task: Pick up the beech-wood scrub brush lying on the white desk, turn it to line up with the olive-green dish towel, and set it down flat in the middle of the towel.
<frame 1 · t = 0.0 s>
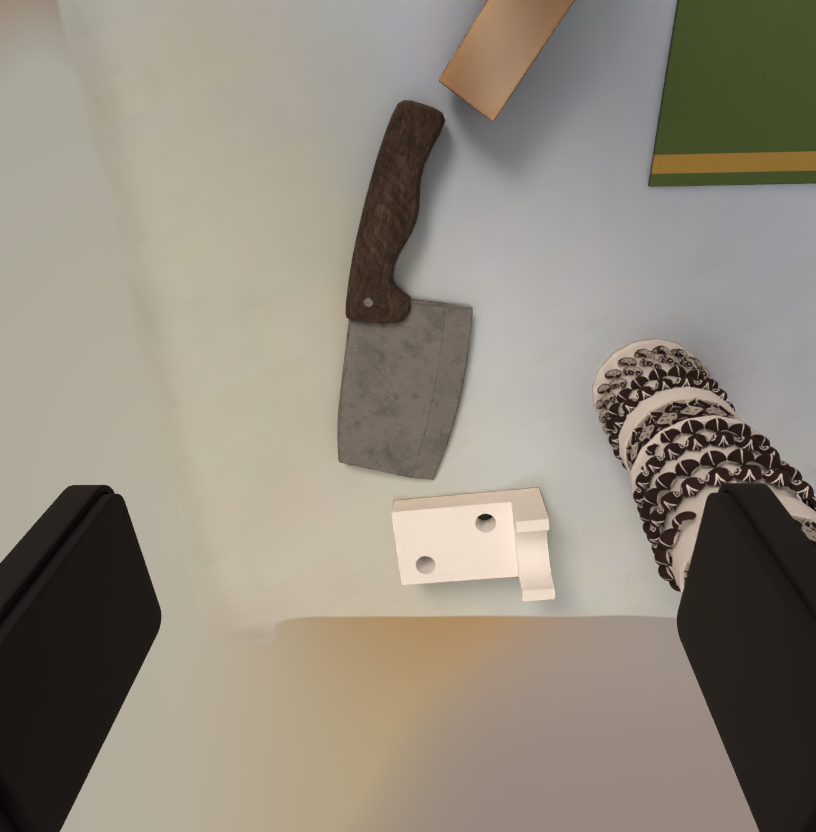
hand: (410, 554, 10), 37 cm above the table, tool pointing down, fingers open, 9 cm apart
decorative candle: (644, 387, 50), on the table
bracket: (468, 516, 57), on the table
cleaver: (406, 315, 48), on the table
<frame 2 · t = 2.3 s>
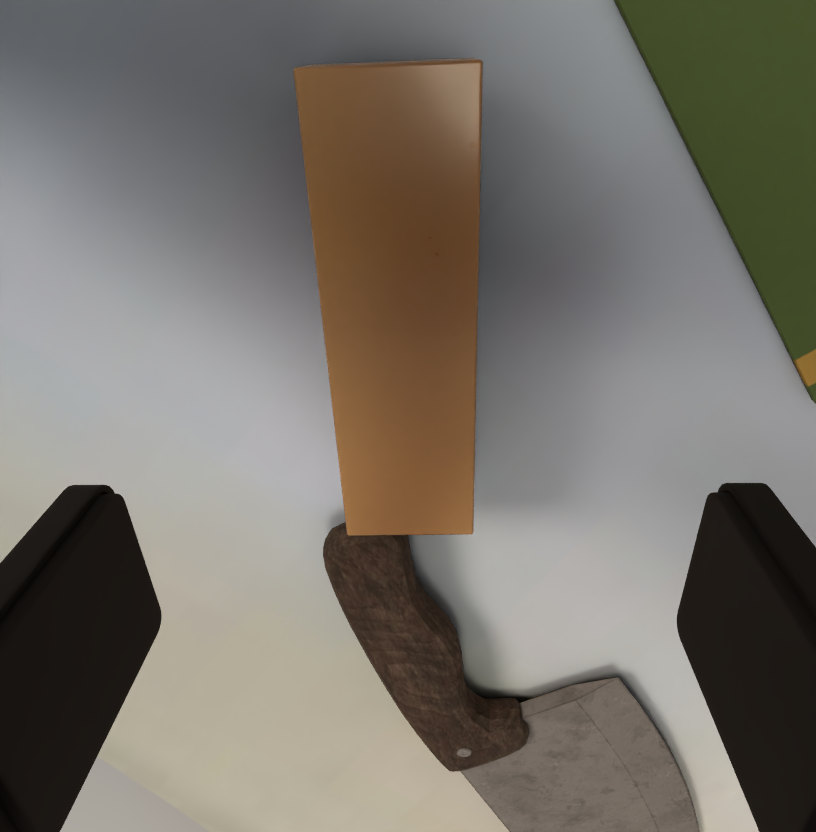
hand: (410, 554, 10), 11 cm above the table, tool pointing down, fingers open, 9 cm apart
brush: (405, 299, 19), on the table
cleaver: (528, 709, 30), on the table
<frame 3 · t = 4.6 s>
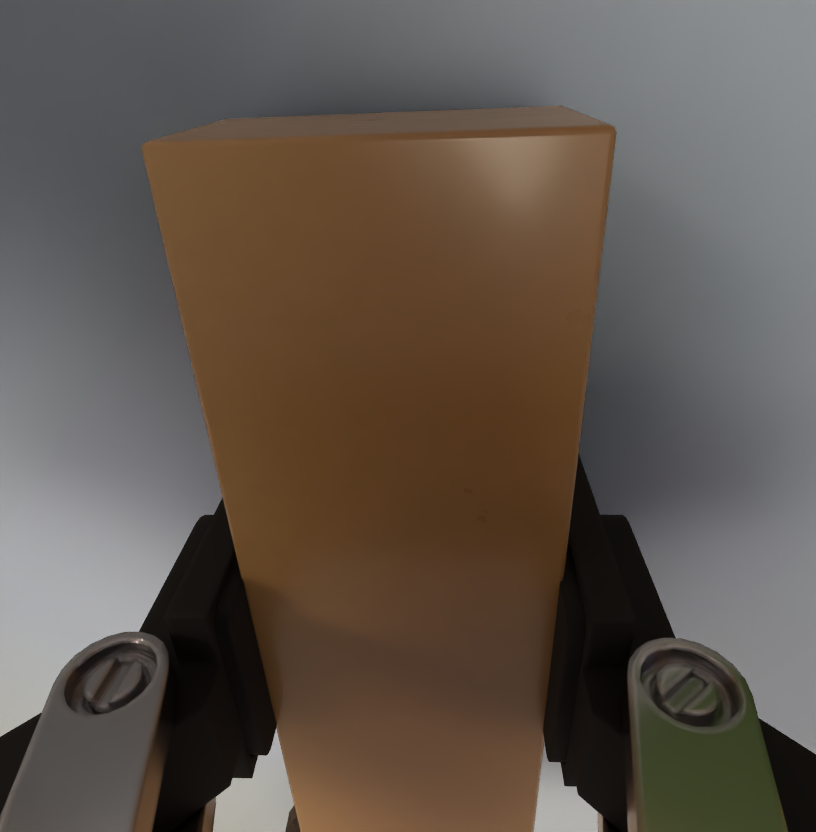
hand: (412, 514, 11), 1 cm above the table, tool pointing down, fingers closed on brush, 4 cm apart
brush: (414, 497, 11), on the table, touching gripper
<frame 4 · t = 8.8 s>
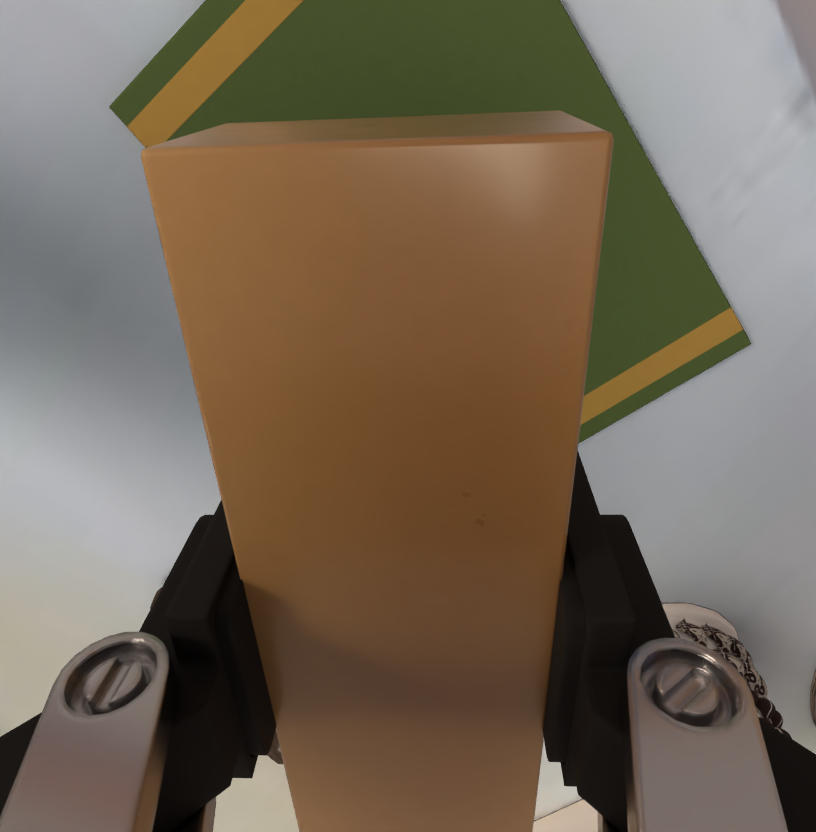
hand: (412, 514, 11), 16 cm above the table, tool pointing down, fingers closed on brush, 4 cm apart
decorative candle: (660, 652, 35), on the table
bracket: (570, 827, 45), on the table
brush: (413, 499, 11), point 15 cm above the table, touching gripper
cleaver: (340, 716, 39), on the table
cloth: (454, 232, 24), on the table
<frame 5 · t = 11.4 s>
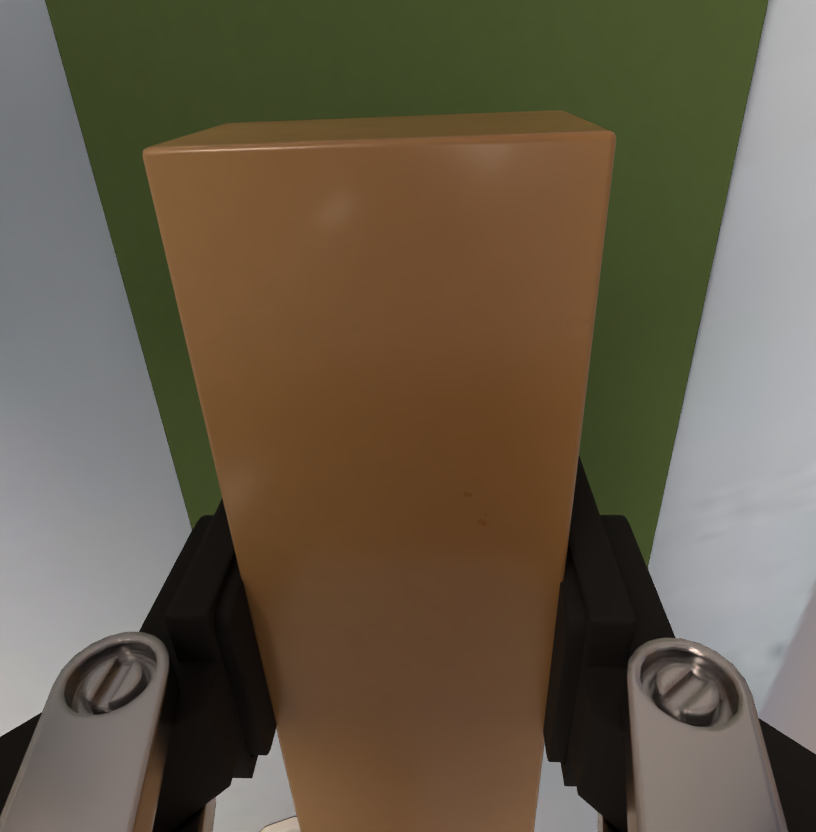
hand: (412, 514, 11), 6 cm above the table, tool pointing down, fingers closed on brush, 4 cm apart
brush: (414, 499, 11), point 6 cm above the table, touching gripper
cloth: (413, 360, 16), on the table
when the fingers open (1 cm above the table, at t = 13.0 s): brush stays where it is, resting on cloth.
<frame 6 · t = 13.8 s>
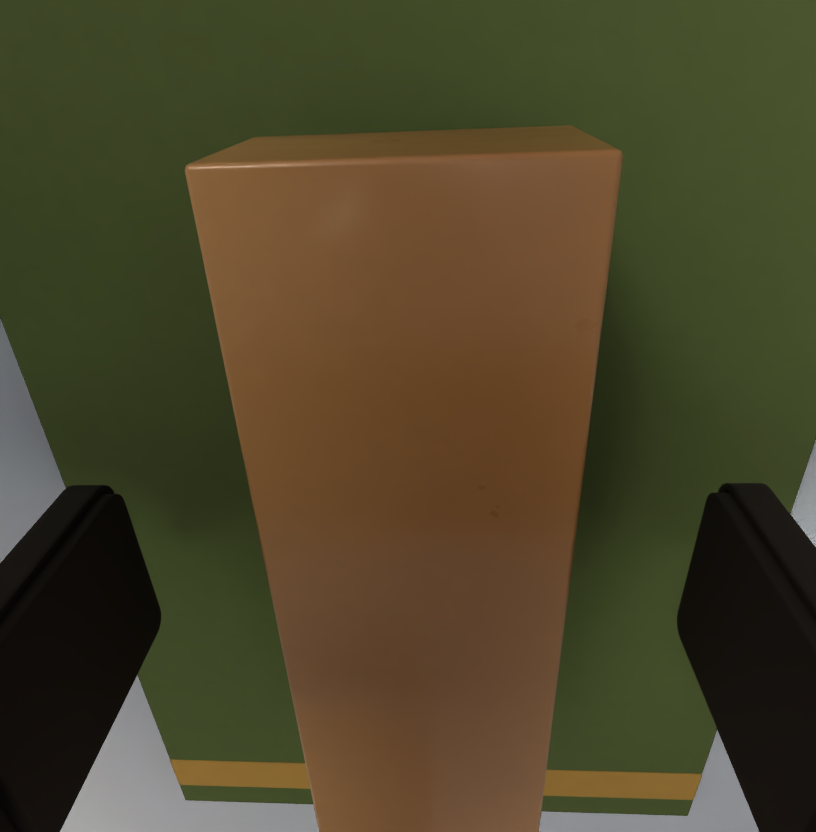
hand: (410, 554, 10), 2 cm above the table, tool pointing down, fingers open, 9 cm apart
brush: (425, 495, 12), resting on cloth
cloth: (419, 479, 12), on the table
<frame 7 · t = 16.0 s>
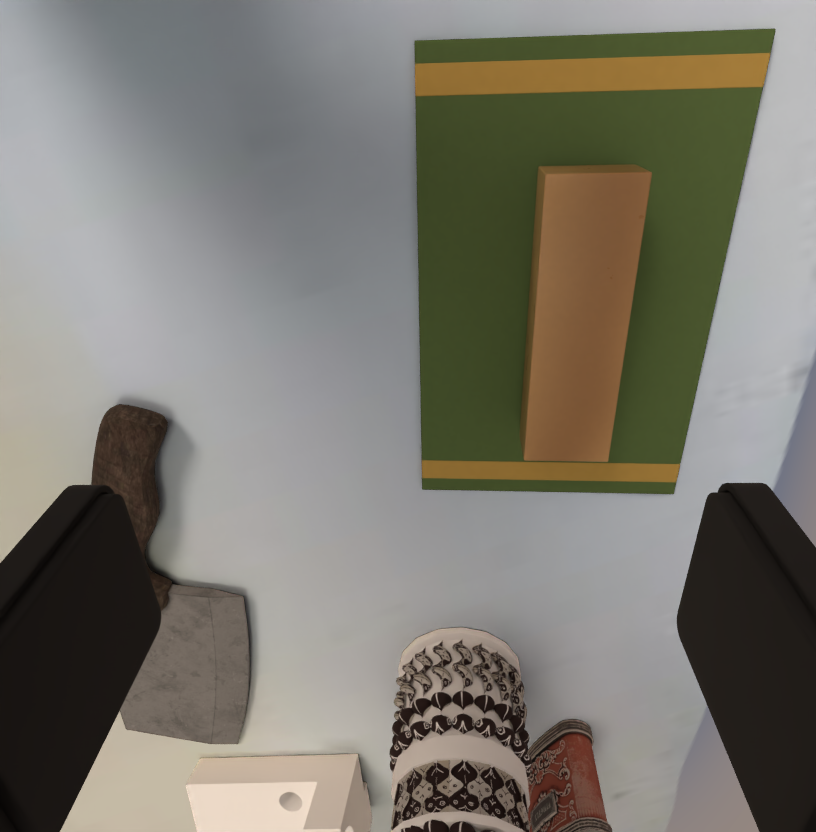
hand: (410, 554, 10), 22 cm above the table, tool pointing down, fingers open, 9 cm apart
lighter: (552, 748, 47), on the table
decorative candle: (459, 668, 43), on the table
bracket: (286, 774, 50), on the table
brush: (567, 307, 30), resting on cloth
cleaver: (175, 594, 41), on the table
cloth: (564, 301, 30), on the table
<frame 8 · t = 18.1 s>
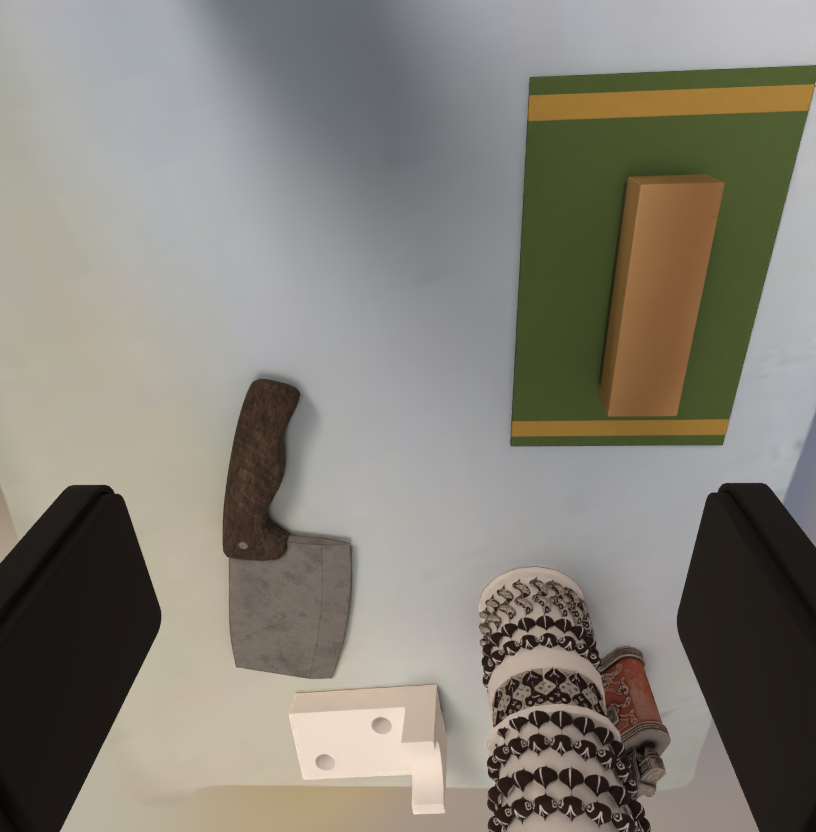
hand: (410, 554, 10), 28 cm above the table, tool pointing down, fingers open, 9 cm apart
lighter: (607, 674, 54), on the table
decorative candle: (530, 604, 50), on the table
bracket: (371, 705, 58), on the table
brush: (641, 289, 36), resting on cloth
cleaver: (288, 544, 48), on the table
cloth: (638, 285, 36), on the table
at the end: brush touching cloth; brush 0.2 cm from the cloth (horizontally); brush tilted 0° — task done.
